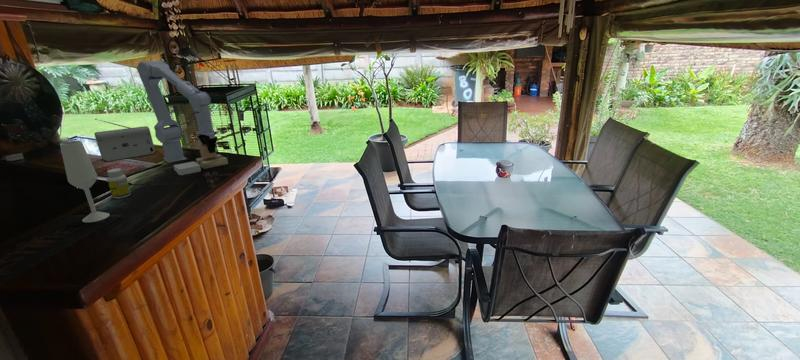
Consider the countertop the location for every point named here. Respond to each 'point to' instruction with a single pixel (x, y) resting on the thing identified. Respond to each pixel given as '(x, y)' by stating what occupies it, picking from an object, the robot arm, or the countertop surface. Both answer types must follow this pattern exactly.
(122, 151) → the stereo radio cassette player
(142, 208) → the countertop surface
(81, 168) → the champagne flute
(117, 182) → the supplement bottle
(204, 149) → the terracotta cube
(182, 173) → the grey block
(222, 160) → the olive block
